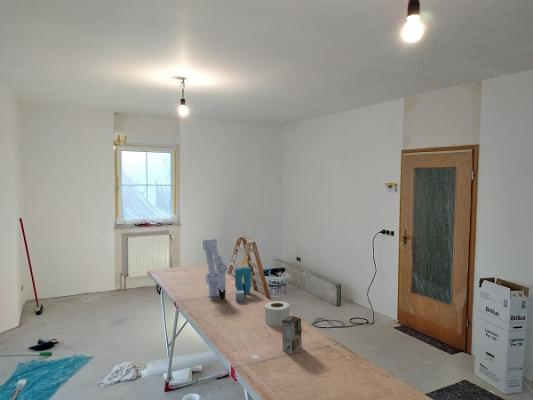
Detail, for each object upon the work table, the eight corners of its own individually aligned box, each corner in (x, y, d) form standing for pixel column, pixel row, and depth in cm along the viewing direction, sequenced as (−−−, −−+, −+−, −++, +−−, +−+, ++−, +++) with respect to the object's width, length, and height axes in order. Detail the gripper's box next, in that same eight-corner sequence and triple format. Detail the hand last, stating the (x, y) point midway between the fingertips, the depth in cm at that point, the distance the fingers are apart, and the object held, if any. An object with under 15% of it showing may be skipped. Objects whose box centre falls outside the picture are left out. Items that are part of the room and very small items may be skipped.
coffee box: (292, 344, 209) (291, 315, 208) (302, 347, 205) (301, 317, 204) (282, 350, 202) (281, 320, 201) (292, 354, 198) (291, 323, 197)
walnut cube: (218, 299, 290) (218, 293, 290) (225, 299, 291) (225, 292, 291) (218, 301, 285) (218, 295, 285) (225, 301, 286) (225, 294, 286)
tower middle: (235, 295, 289) (235, 290, 288) (243, 294, 289) (243, 290, 289) (236, 297, 283) (235, 293, 282) (244, 297, 283) (244, 292, 283)
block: (249, 291, 309) (248, 266, 308) (251, 293, 304) (251, 268, 303) (235, 293, 304) (234, 268, 303) (237, 295, 300) (236, 269, 298)
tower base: (235, 300, 289) (235, 295, 288) (243, 299, 290) (243, 294, 289) (236, 302, 283) (236, 297, 283) (244, 301, 284) (244, 297, 283)
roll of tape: (287, 327, 234) (287, 309, 233) (262, 325, 237) (262, 308, 236) (291, 317, 249) (291, 301, 248) (267, 316, 252) (267, 300, 252)
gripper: (215, 278, 294) (216, 295, 294) (216, 283, 279) (217, 301, 280) (225, 277, 295) (225, 295, 296) (226, 282, 280) (226, 301, 281)
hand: (222, 298), depth 288 cm, fingers closed on walnut cube, 5 cm apart
